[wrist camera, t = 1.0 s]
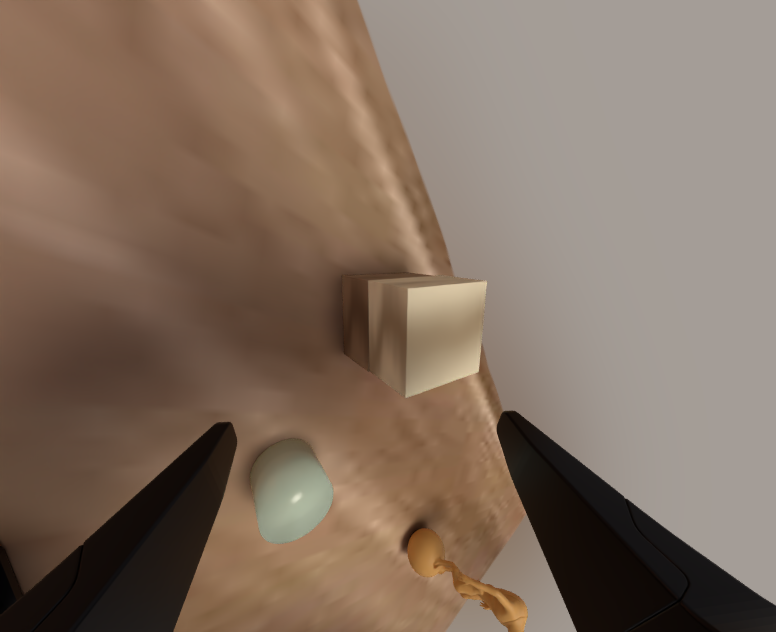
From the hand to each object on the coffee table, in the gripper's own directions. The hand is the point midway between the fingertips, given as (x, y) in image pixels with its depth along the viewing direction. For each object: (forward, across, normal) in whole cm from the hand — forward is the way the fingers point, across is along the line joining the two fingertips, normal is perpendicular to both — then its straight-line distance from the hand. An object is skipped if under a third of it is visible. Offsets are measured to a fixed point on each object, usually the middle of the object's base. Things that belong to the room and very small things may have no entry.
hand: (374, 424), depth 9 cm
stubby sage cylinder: (+7, +6, +13) cm, 15 cm away
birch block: (+10, -3, +2) cm, 10 cm away
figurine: (+8, -7, +29) cm, 31 cm away
